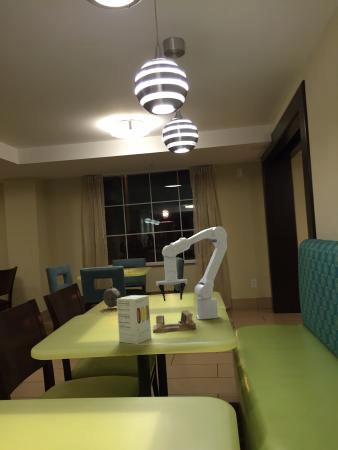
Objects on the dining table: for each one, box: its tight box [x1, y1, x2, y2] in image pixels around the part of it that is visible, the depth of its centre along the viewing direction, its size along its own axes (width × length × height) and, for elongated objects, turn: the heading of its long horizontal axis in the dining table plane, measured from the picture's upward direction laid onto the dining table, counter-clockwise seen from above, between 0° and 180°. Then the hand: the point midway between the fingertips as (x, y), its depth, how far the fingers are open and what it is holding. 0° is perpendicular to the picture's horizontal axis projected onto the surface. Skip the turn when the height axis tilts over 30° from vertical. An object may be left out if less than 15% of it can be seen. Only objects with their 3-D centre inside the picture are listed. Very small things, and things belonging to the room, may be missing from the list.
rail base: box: [152, 313, 197, 334], centre depth 155 cm, size 18×8×6 cm, turn 93°
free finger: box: [180, 309, 194, 324], centre depth 155 cm, size 4×4×5 cm
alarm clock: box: [102, 281, 122, 310], centre depth 215 cm, size 11×5×16 cm, turn 58°
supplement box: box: [116, 294, 152, 345], centre depth 142 cm, size 10×9×17 cm
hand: (172, 300), depth 169 cm, fingers open, 7 cm apart
